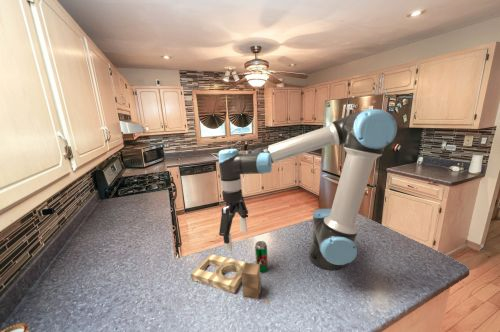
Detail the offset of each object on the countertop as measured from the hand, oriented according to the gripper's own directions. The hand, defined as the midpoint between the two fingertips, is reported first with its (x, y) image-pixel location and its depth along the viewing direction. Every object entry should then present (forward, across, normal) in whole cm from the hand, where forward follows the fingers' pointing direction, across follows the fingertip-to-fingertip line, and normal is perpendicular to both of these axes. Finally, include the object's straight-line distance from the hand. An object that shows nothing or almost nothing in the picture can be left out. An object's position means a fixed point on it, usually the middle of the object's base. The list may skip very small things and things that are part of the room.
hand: (236, 240), depth 83 cm
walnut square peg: (+16, +6, +8) cm, 19 cm away
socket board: (+16, +2, -8) cm, 18 cm away
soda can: (+16, -6, +7) cm, 19 cm away
